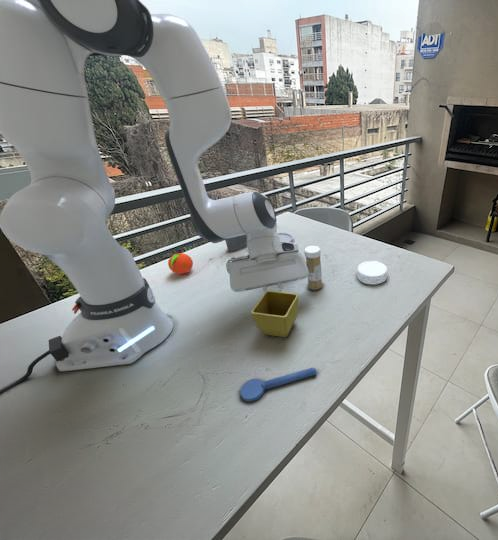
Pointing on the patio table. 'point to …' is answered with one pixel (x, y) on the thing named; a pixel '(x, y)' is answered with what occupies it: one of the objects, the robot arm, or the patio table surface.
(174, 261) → the clementine
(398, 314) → the patio table surface
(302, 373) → the spoon
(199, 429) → the patio table surface
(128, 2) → the robot arm
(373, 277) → the white round disc
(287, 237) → the disposable coffee cup
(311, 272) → the sprinkles bottle
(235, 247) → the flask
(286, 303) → the flower pot
